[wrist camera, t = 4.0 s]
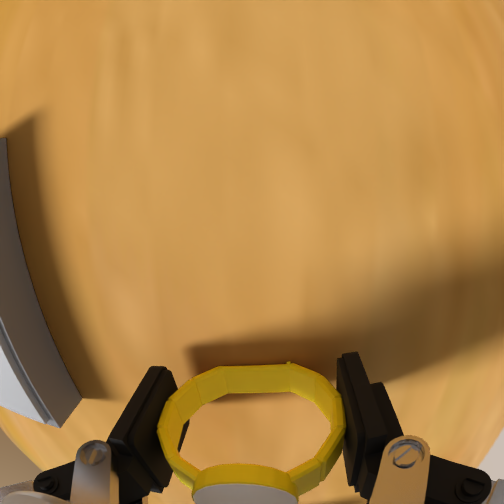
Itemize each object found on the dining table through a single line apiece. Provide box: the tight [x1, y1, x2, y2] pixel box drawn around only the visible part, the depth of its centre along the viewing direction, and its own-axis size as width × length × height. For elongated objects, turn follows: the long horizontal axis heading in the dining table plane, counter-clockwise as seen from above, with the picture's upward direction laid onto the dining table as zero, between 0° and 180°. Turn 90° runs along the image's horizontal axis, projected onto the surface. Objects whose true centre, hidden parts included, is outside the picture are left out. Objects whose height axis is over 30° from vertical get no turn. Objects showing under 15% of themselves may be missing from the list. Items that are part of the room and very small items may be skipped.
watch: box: [157, 361, 346, 504], centre depth 8 cm, size 6×3×6 cm, turn 97°
